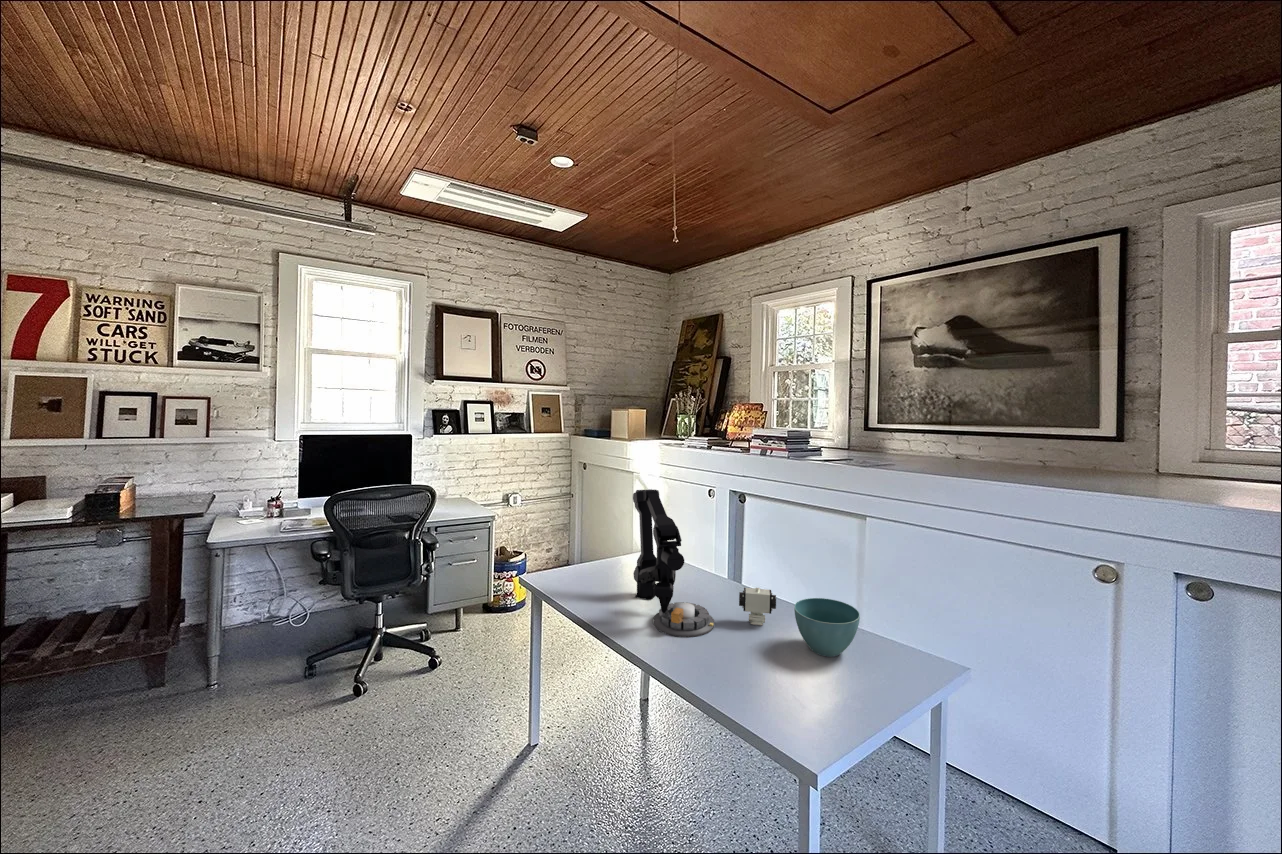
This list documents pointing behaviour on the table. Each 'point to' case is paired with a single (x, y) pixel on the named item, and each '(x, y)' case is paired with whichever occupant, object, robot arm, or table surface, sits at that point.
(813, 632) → the teal hollow rounded piece
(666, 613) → the grey toothed bowl
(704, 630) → the cap base
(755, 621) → the pneumatic valve
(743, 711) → the table surface
